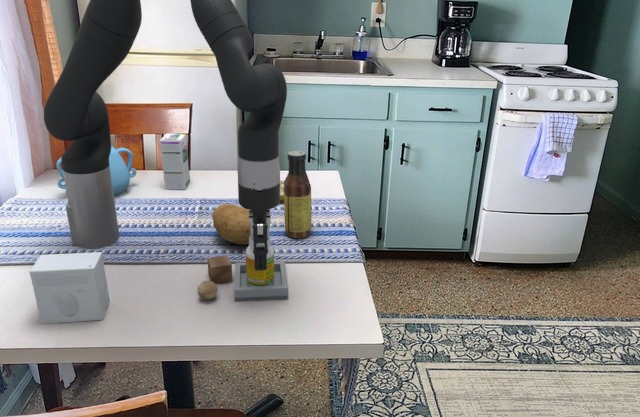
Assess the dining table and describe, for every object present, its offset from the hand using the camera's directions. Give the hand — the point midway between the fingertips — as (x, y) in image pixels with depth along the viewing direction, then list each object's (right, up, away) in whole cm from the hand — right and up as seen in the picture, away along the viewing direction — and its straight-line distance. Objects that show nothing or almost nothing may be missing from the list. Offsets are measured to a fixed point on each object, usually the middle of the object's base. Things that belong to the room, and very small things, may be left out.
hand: (260, 258), depth 104 cm
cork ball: (-10, -6, -2) cm, 12 cm away
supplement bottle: (0, -5, +3) cm, 6 cm away
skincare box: (-32, -9, -7) cm, 34 cm away
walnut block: (-9, -5, +5) cm, 11 cm away
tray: (0, -6, +3) cm, 6 cm away
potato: (-6, +2, +19) cm, 21 cm away
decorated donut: (0, +12, +43) cm, 45 cm away
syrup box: (-28, +16, +48) cm, 58 cm away
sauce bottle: (+6, +3, +24) cm, 25 cm away
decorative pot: (-48, +14, +43) cm, 66 cm away
